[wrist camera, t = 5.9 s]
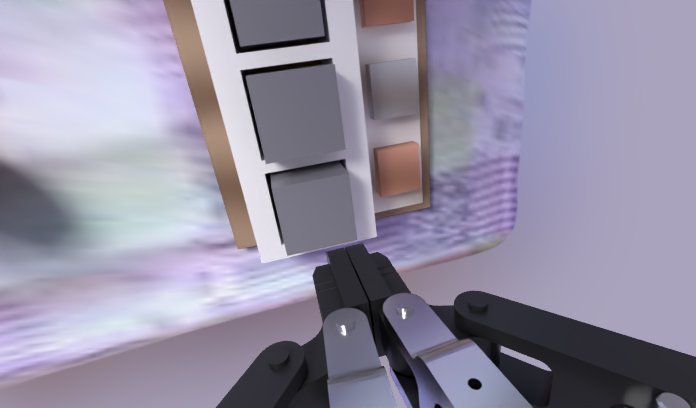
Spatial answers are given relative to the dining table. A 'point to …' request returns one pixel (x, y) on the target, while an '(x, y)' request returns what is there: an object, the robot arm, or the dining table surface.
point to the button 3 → (314, 206)
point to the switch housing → (243, 128)
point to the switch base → (378, 99)
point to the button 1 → (277, 22)
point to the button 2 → (297, 112)
